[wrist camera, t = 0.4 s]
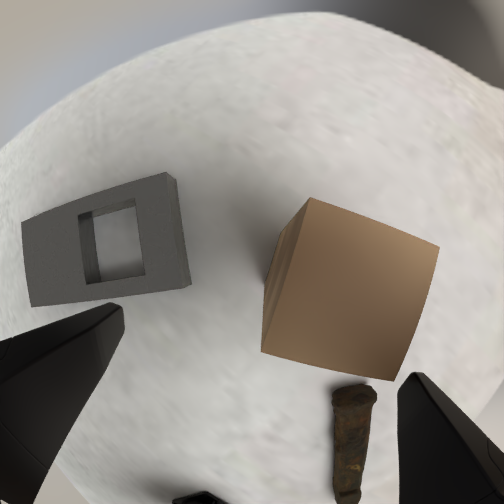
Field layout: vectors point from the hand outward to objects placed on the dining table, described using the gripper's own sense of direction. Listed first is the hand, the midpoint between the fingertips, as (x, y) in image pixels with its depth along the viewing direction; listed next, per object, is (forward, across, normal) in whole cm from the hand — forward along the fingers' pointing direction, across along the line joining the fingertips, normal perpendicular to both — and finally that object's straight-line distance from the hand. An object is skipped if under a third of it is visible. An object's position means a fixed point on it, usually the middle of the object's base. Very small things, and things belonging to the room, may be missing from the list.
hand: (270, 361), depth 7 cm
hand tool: (+8, -13, +20) cm, 26 cm away
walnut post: (+15, -2, +4) cm, 15 cm away
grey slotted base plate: (+14, +16, +6) cm, 22 cm away
